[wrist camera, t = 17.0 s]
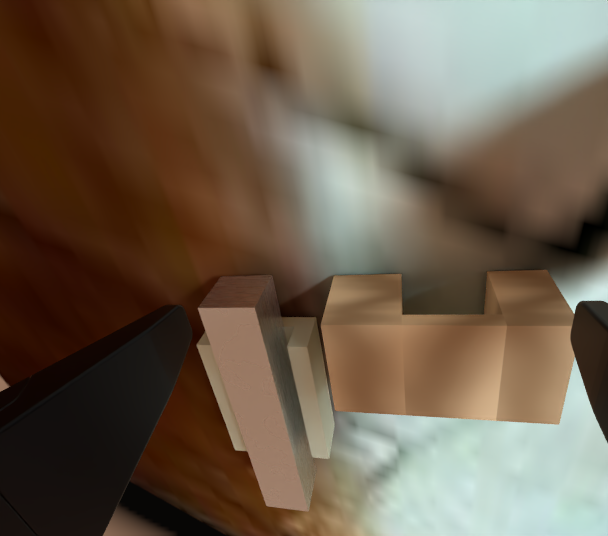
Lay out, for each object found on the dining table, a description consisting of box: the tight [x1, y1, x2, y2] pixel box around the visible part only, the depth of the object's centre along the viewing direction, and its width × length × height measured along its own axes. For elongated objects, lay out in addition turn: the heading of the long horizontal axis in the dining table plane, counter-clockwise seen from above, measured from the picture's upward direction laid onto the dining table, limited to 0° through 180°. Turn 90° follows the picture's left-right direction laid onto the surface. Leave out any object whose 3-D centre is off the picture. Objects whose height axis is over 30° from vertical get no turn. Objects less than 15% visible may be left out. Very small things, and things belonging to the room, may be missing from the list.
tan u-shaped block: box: [321, 270, 575, 424], centre depth 21 cm, size 11×6×5 cm, turn 99°
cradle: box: [197, 317, 335, 459], centre depth 27 cm, size 7×10×3 cm
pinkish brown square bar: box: [198, 275, 316, 511], centre depth 26 cm, size 18×3×3 cm, turn 9°
